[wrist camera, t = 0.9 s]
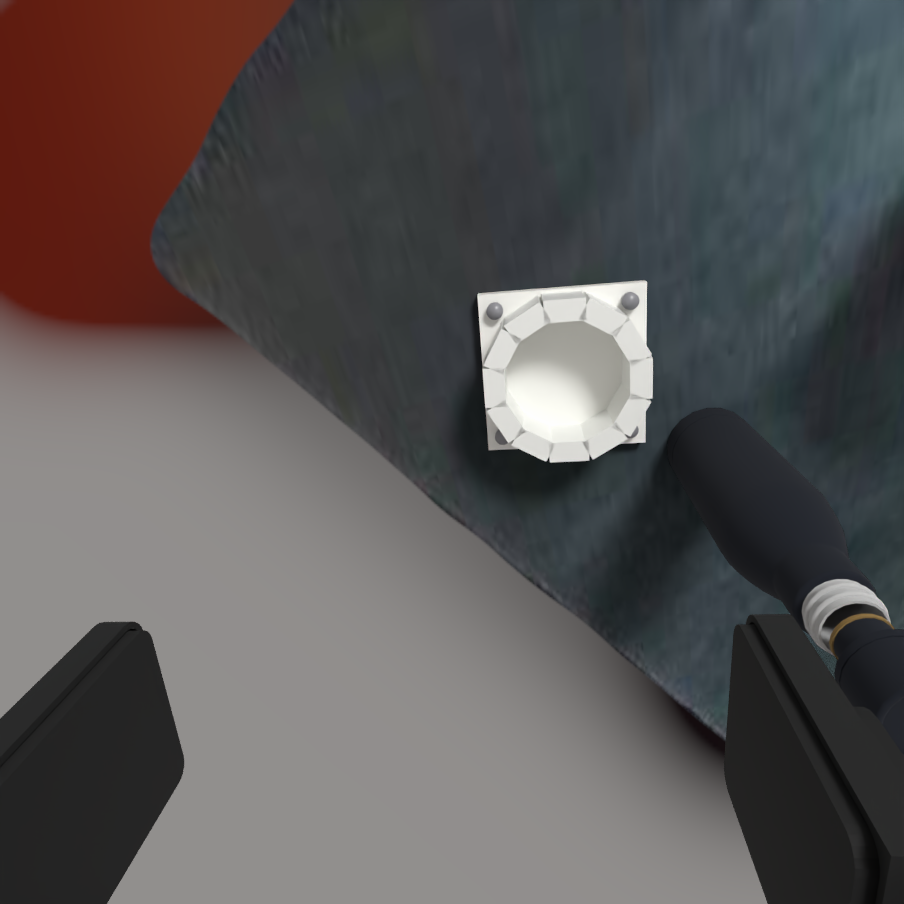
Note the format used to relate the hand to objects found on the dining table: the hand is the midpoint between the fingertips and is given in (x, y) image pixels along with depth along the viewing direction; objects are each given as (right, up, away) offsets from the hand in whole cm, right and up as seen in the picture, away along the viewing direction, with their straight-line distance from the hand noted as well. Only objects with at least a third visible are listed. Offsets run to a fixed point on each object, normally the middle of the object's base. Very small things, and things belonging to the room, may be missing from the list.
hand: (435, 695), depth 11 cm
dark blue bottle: (+20, +4, +42) cm, 46 cm away
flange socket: (+9, +10, +40) cm, 43 cm away
